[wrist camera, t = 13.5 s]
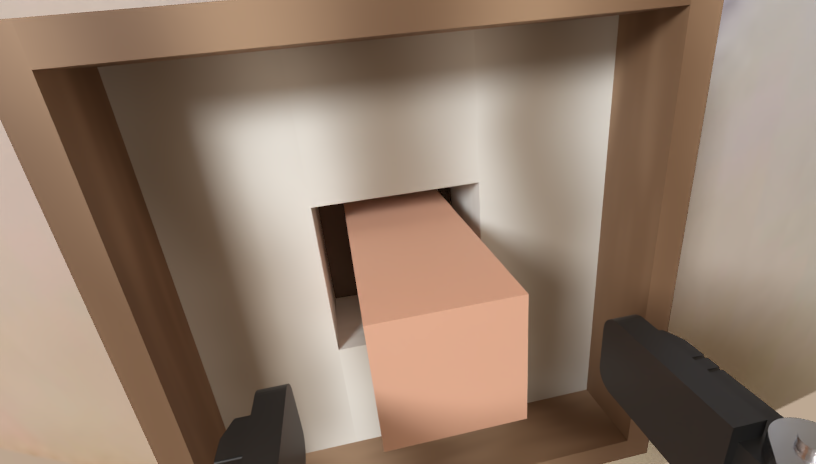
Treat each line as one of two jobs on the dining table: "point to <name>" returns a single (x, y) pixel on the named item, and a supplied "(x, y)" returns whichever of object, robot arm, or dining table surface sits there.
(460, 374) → the peg
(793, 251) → the dining table surface
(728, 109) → the dining table surface
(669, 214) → the bore box
